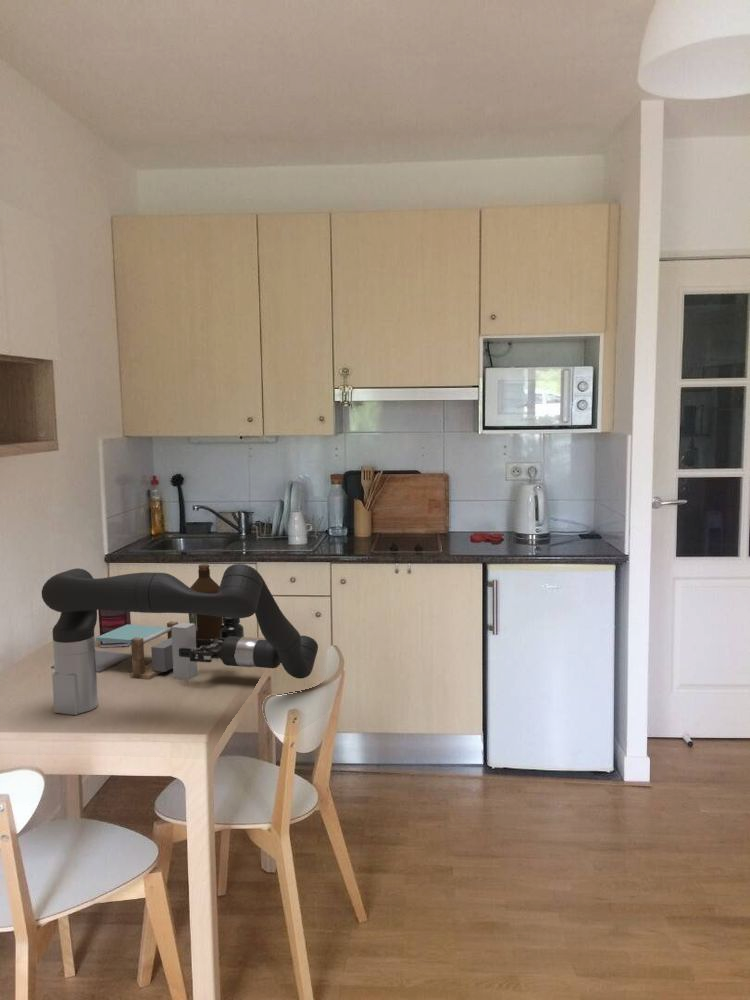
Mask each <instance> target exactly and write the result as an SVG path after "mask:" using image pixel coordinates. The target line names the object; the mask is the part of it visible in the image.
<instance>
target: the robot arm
mask: <svg viewBox="0 0 750 1000" xmlns="http://www.w3.org/2000/svg"><path fill="white" fill-rule="evenodd" d="M266 583H267V582H266V581H265V580H264V578H263V576H262V575H261V574H260V572H259V571H258V570H257V569H255V568H254V567H252V566H251V565H247V564H243V563H238V564H237V563H235V564H231V565H229V566H228V567H227V568H226V569H225V571H224V573H223V575H222V579H221V581H220V584H219V586H220V587H219V591H218V593H216V594H206V593H200V592H196V591H194V590H192V589H191V588H190V586H188V585H187V584H185V583H184V582H183V581H181V580H180V579H179V578H177V577H176V576H174V575H172V574H169V573H166V572H132V573H125V574H120V575H119V574H118V575H114V576H108V577H101V578H100V577H99V578H97V577H96V578H94V577H93V575H92V573H90V572H89V571H88V570H86V569H83V568H78V567H77V568H73V569H69V570H68V569H67V570H66V571H63V572H59V573H56V574H54V575H52V576H51V577H49V579H47V580H46V582H45V583H44V584H43V586H42V588H41V599H42V601H43V602H44V603H45V605H46V606H47V607H48V608H49V609H51V610H52V611H55V612H58V613H60V616H59V619H58V620H57V622H56V624H54V626H53V627H52V643H53V644H52V646H53V647H52V648H53V662H54V663H53V664H54V666H55V668H54V672H53V673H52V675H51V676H52V677H51V679H52V693H53V694H52V695H53V709H54V711H53V712H54V713H56V714H64V715H71V716H72V715H73V716H74V715H75V716H77V715H79V714H82V713H86V712H90V711H92V710H94V709H96V708H97V707H98V706H99V696H98V695H99V694H98V693H99V691H98V678H97V677H98V676H97V673H98V672H96V655H95V651H96V645H95V644H96V642H95V641H96V638H95V628H96V624H97V622H98V621H97V620H98V610H109V611H122V612H130V613H140V614H141V613H142V614H146V613H147V614H170V613H171V614H188V615H189V614H201V615H210V616H218V617H227V618H240V619H245V618H250V617H251V616H253V615H254V614H255V617H256V621H257V624H258V627H259V629H260V631H261V634H262V636H263V637H264V639H260V638H259V639H258V638H254V637H246V636H244V637H233V636H229V637H227V638H221V637H216V638H215V639H209V640H206V639H197V640H196V647H197V648H195V649H191V648H180V649H179V656H180V657H190V661H194V662H197V663H198V662H199V663H212V660H219V659H220V660H221V662H222V664H224V665H225V666H229V667H241V668H265V669H277V668H278V667H279V666H280V665H281V666H282V668H283V669H284V671H285V672H286V673H287V674H288V675H289V676H291V677H293V678H295V679H306V678H307V677H308V676H310V675H311V673H312V671H313V669H314V666H315V665H314V664H315V662H316V657H317V654H318V652H319V645H318V642H317V640H316V639H314V638H313V637H310V636H308V635H301V634H300V632H299V631H298V630H297V628H295V626H294V625H293V624H292V622H290V621H289V620H288V619H287V617H286V616H285V615H284V613H283V611H282V610H281V609H280V606H279V605H278V603H277V601H276V600H275V598H274V596H273V594H272V592H271V590H270V589H269V587H268V585H267V584H266ZM204 649H205V650H204ZM196 654H197V656H196Z"/></svg>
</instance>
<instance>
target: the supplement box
mask: <svg viewBox="0 0 750 1000" xmlns="http://www.w3.org/2000/svg"><path fill="white" fill-rule="evenodd" d="M97 615H98V626H99V628H98V629H99V636H101V635H103V634H105V633H108V632H110V631H113V630H115V629H117V628H120V627H122V626H124V625H127V624H128V625H132V621H131V620H132V619H131V612H122V611H109V610H97ZM99 642H100V648H117V647H119V648H120V647H121V648H122V646H125V647H129V646H130V645H131V644H130V643H117V642H105V641H99Z"/></svg>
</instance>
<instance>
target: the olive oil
mask: <svg viewBox="0 0 750 1000" xmlns="http://www.w3.org/2000/svg"><path fill="white" fill-rule="evenodd" d="M197 573H198V578H197V579H196V581H195V582H194V583H193V584H192V585H190V586H189V588H191V589H192V590H194V591H196V592H200V593H206V594H216V593H218V591H219V587H220V584H218V583H217V582H216V581H215V580H214V579H212V577H211V569H210V564H206V563H205V564H204V563H203V564H198V570H197ZM188 623H193V624H195V629H196V640H197V639H206V640H209V639H215V638H216V637H220V628H221V626H223V625H224V624H223V617H218V616H210V615H201V614H188ZM196 648H197V647H196ZM204 651H205V649H204Z"/></svg>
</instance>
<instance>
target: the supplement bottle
mask: <svg viewBox="0 0 750 1000" xmlns="http://www.w3.org/2000/svg"><path fill="white" fill-rule="evenodd" d="M240 619H241V618H227V617H223V626H221V628H220V637H221V638H227V637H229V636H233V637H245V634H244V633H245V632H244V631H245V630H244V626H243V625H242V624H240V623H241V620H240Z"/></svg>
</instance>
